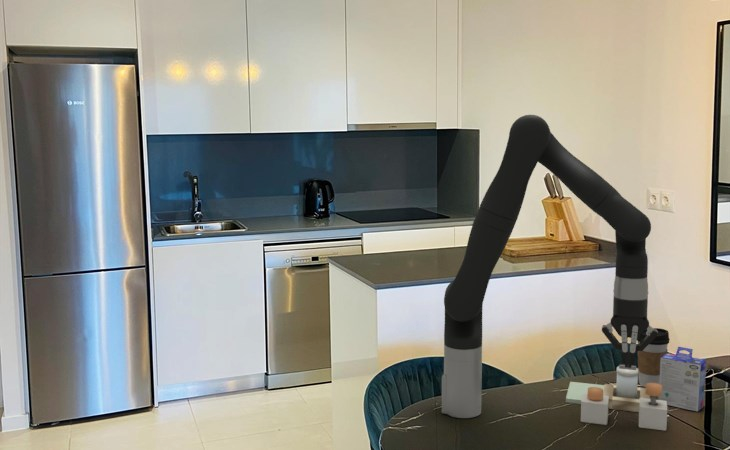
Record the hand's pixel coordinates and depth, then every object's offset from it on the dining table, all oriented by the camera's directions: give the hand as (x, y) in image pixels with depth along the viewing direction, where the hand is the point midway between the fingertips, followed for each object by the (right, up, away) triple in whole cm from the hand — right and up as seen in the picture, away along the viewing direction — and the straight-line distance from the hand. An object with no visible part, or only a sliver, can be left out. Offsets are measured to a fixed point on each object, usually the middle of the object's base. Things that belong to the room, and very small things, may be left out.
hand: (628, 366), depth 174 cm
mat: (-4, -11, +19) cm, 22 cm away
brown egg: (+6, -10, 0) cm, 12 cm away
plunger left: (-7, -12, +4) cm, 14 cm away
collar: (+4, -12, +13) cm, 18 cm away
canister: (+4, -12, +13) cm, 18 cm away
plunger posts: (-1, -13, +2) cm, 14 cm away
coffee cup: (+15, -10, +26) cm, 32 cm away
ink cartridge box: (+18, -12, +12) cm, 24 cm away
